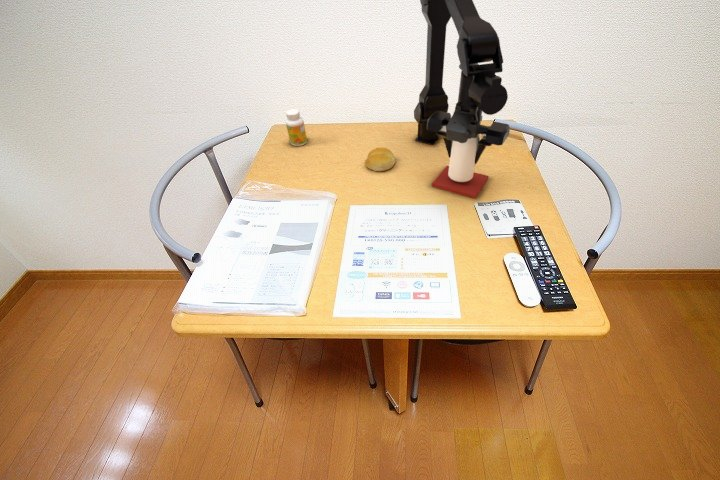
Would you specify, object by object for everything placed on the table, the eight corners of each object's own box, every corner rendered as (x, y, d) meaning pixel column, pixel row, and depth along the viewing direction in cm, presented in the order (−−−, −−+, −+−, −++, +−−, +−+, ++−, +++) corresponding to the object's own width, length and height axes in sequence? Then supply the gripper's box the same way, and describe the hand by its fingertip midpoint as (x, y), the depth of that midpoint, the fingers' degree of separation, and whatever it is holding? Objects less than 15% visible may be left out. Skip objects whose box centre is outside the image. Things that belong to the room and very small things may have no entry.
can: (472, 184, 92) (481, 139, 84) (446, 181, 93) (453, 137, 85) (473, 171, 97) (481, 127, 88) (448, 168, 98) (454, 125, 89)
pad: (431, 186, 96) (431, 183, 95) (446, 168, 102) (446, 165, 101) (475, 198, 91) (475, 195, 90) (488, 179, 97) (488, 175, 96)
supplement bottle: (287, 145, 115) (279, 114, 108) (296, 137, 118) (289, 107, 111) (301, 147, 113) (295, 116, 106) (310, 139, 117) (304, 109, 110)
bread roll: (363, 171, 102) (362, 158, 99) (369, 155, 108) (369, 143, 105) (392, 173, 101) (392, 160, 98) (397, 157, 107) (397, 144, 104)
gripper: (417, 102, 79) (415, 166, 90) (501, 118, 72) (488, 185, 83) (438, 85, 86) (434, 146, 97) (517, 98, 79) (503, 162, 90)
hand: (462, 160), depth 92 cm, fingers closed on can, 6 cm apart
